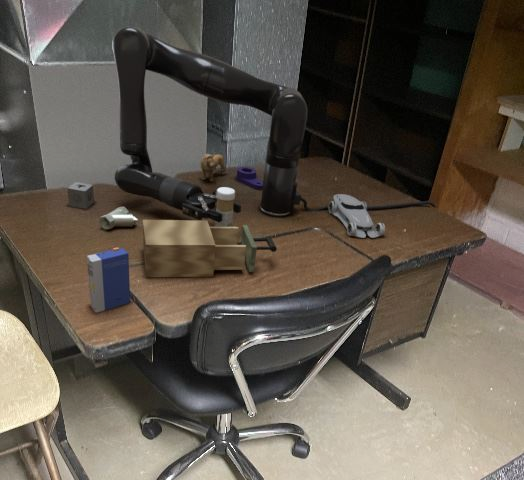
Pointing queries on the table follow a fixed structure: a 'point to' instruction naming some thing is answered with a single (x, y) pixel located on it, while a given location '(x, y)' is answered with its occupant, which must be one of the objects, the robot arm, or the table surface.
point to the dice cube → (80, 195)
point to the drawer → (236, 248)
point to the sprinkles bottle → (225, 206)
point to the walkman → (108, 279)
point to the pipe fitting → (117, 219)
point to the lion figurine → (211, 165)
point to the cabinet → (178, 248)
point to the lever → (249, 177)
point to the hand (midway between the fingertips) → (231, 213)
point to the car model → (355, 216)
